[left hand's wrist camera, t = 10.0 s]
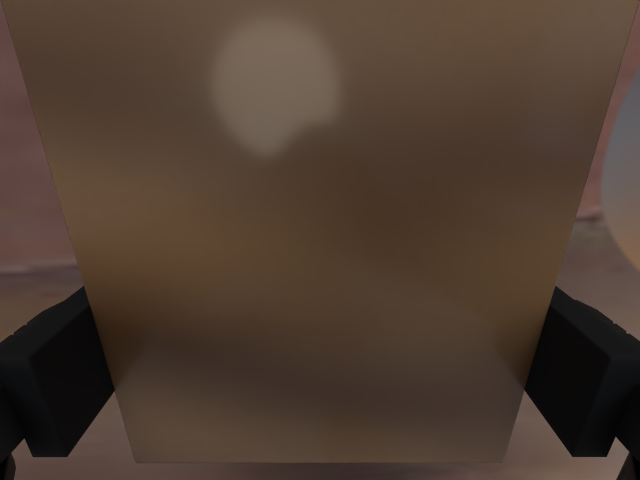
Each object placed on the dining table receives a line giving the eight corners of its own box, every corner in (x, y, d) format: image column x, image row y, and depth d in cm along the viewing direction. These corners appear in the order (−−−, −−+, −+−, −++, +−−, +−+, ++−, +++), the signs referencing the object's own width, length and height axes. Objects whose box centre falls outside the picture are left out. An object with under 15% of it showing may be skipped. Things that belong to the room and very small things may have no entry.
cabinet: (160, -190, 12) (-310, -1054, 3) (480, -188, 12) (948, -1035, 3) (220, 297, 19) (135, 464, 10) (418, 297, 19) (503, 463, 10)
